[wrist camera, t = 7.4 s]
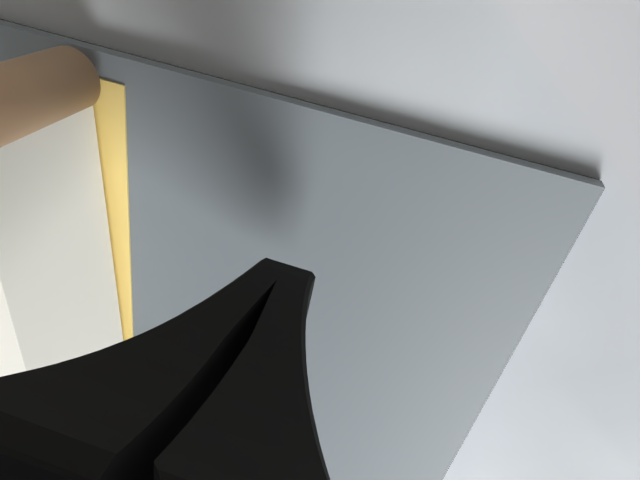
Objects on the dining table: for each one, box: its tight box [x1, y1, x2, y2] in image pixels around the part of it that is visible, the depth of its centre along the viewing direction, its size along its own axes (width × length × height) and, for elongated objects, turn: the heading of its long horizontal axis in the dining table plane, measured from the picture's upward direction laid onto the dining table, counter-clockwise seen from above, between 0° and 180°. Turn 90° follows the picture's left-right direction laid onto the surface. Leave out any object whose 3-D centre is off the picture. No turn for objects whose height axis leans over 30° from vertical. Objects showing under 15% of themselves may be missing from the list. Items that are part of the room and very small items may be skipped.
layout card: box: [0, 19, 605, 480], centre depth 17 cm, size 16×24×1 cm, turn 80°
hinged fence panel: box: [0, 45, 123, 377], centre depth 14 cm, size 11×2×5 cm, turn 174°
